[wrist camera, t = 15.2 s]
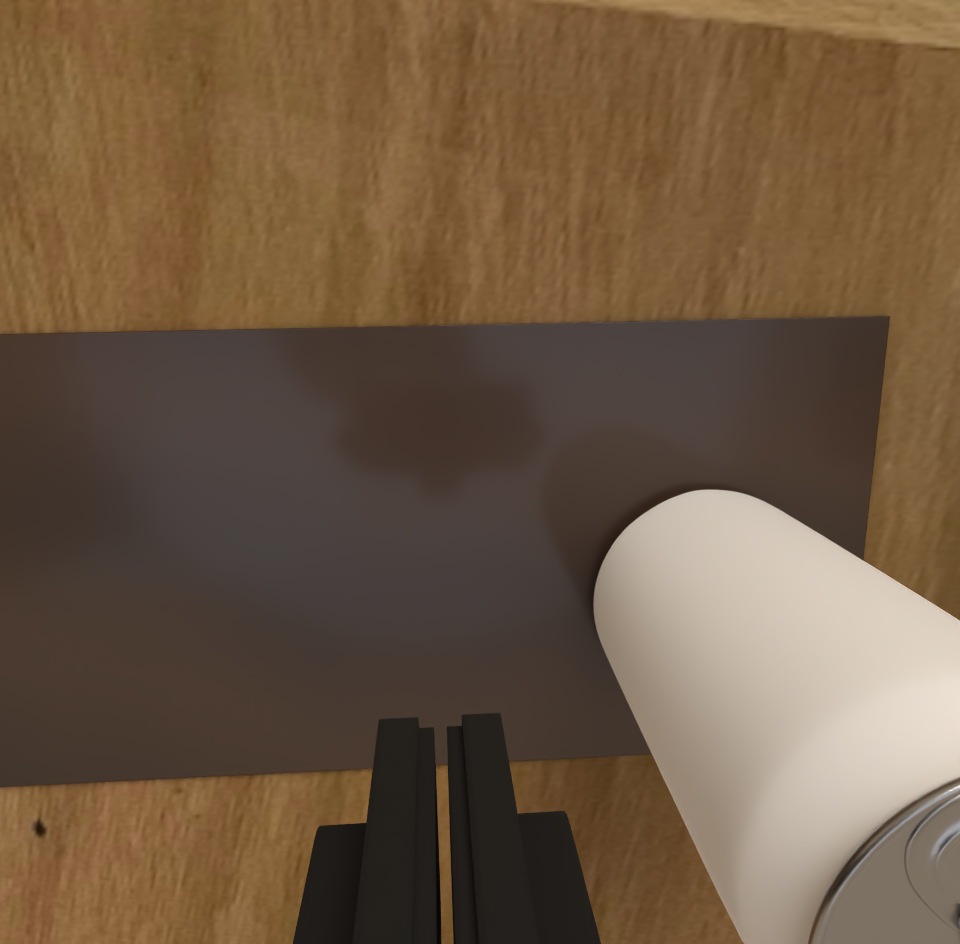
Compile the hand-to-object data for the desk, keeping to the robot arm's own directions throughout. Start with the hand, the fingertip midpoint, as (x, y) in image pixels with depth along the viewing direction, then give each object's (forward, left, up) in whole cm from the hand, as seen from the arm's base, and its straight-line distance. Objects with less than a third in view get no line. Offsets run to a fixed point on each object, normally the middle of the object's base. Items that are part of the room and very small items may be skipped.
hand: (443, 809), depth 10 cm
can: (+2, +7, -11) cm, 13 cm away
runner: (0, -5, -11) cm, 12 cm away
